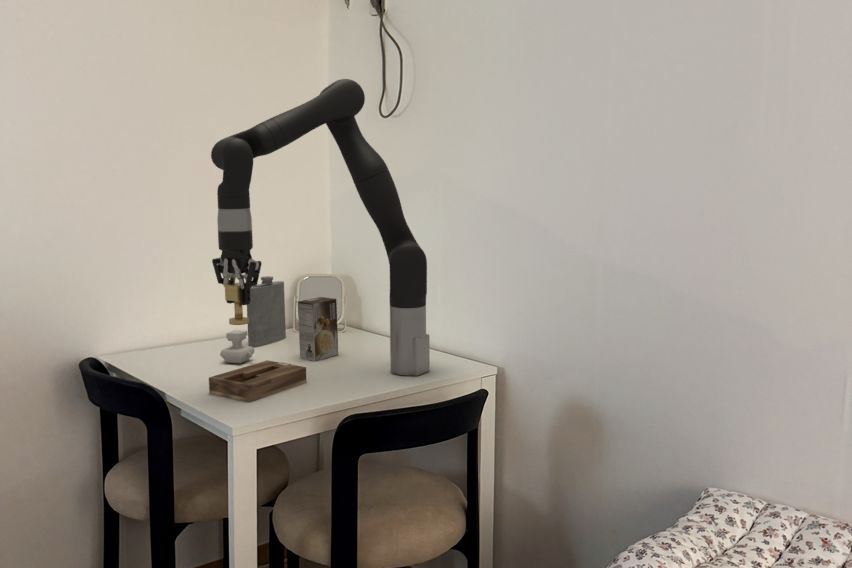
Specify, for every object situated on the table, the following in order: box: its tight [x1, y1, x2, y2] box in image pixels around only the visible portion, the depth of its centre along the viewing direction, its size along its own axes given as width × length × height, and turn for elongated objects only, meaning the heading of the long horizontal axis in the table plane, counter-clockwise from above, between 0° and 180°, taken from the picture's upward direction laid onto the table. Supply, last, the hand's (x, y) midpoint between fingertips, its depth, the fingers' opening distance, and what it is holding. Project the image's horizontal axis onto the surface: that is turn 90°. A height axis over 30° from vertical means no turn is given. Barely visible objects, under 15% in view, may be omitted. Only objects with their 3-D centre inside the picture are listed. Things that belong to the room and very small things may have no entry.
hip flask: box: [246, 275, 287, 349], centre depth 229 cm, size 16×4×20 cm, turn 153°
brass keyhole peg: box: [224, 282, 251, 326], centre depth 174 cm, size 4×4×9 cm
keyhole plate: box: [208, 359, 307, 403], centre depth 182 cm, size 13×19×4 cm
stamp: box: [219, 329, 255, 364], centre depth 206 cm, size 9×7×8 cm
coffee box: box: [297, 296, 339, 362], centre depth 211 cm, size 9×6×16 cm
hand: (238, 303), depth 174 cm, fingers closed on brass keyhole peg, 4 cm apart
